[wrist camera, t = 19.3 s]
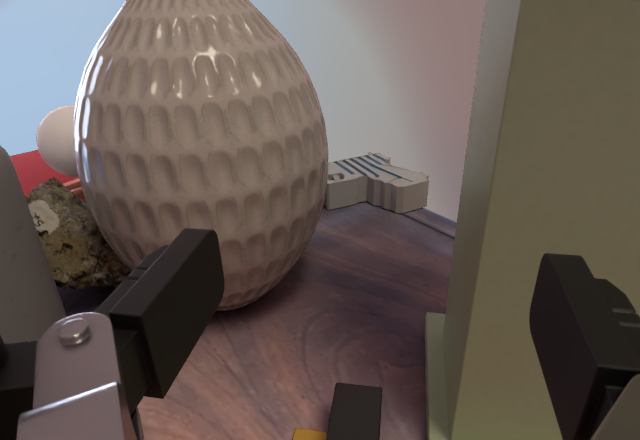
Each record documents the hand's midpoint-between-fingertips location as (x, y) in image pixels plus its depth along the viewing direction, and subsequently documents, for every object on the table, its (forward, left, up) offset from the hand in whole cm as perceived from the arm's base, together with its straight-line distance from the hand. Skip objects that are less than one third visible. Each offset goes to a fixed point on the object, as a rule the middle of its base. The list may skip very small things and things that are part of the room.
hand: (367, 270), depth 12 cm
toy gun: (-15, -27, -13) cm, 34 cm away
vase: (0, -22, -15) cm, 27 cm away
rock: (+7, -26, -15) cm, 31 cm away
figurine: (+10, -28, -6) cm, 30 cm away
